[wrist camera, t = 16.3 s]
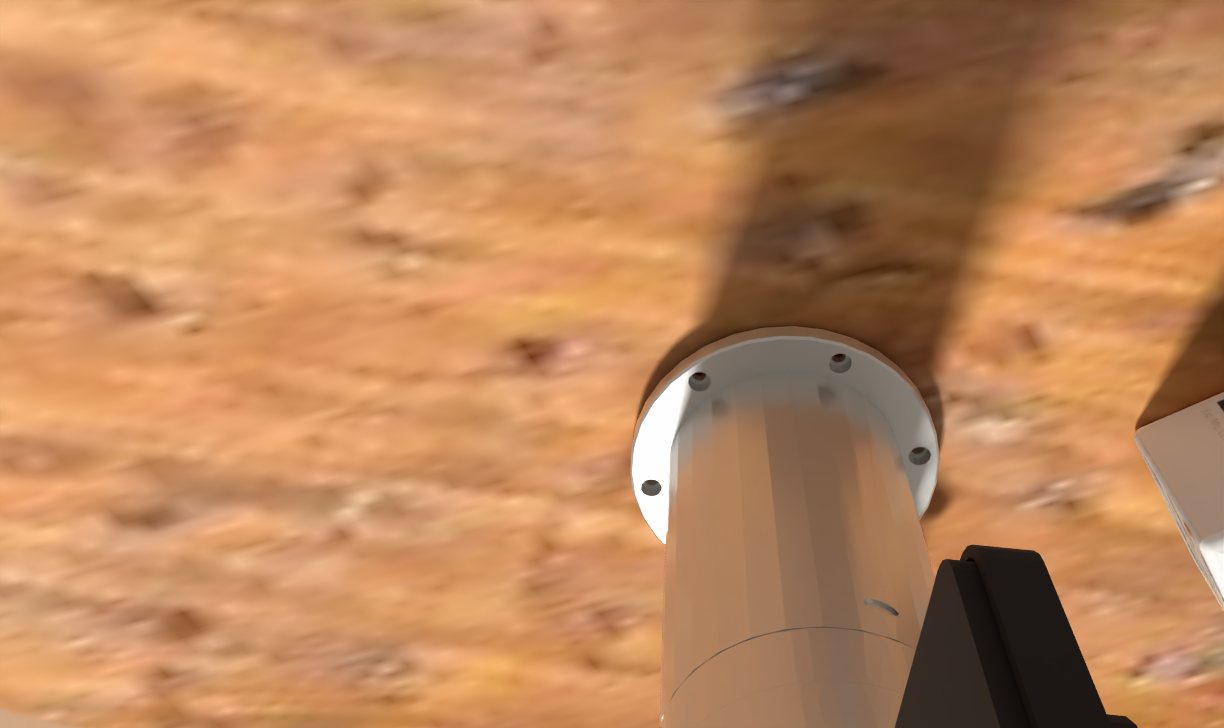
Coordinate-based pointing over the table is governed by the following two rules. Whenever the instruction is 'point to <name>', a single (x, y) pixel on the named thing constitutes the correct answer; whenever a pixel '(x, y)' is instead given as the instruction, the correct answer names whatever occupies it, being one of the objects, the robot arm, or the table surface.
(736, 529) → the robot arm
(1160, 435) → the container
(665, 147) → the table surface
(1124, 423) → the table surface
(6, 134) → the table surface
